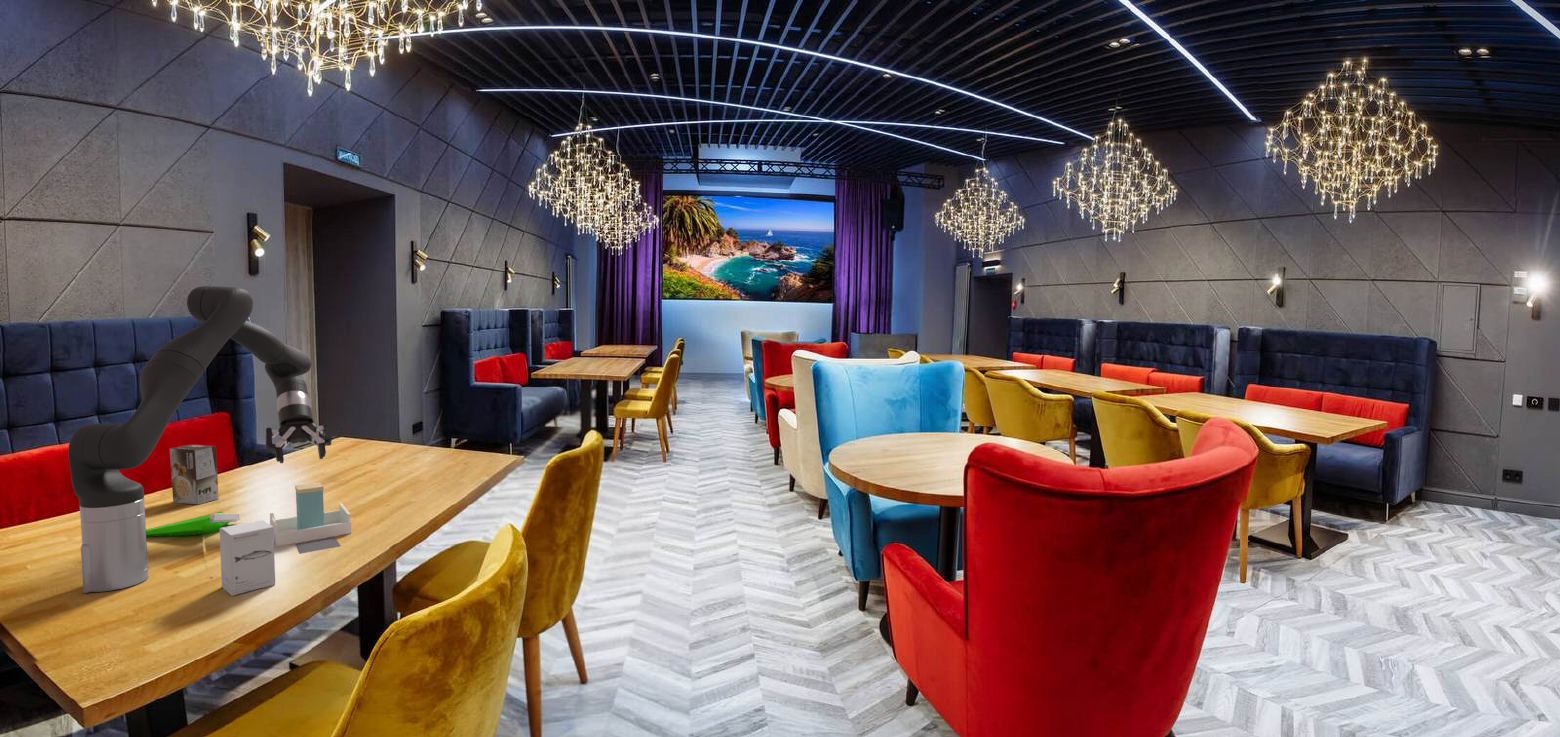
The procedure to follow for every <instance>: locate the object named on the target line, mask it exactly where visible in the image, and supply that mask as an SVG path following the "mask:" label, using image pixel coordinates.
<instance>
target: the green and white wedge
mask: <svg viewBox="0 0 1560 737" xmlns="http://www.w3.org/2000/svg"><path fill="white" fill-rule="evenodd" d="M239 520H240V514H239V513H233V512H232V513H226V512H224V511H218V512H214V513H210V514H209V513H208V514H205V515H201V516H197V517H192V518H188V519H184V520H180V521H177V522H176V521H175V522H172V523H166V524H163V525H159V526H154V527H150V528H146V537H168V536H169V535H173V536H191V535H192V534H200V535H205V534H209V533H210V534H211V533H214V532H218V531H220V530H219V529H220V528H223V527H227V525H229V524H230V523H232V522H233V523H234V522H238V521H239ZM166 535H167V536H166ZM192 536H193V535H192Z"/></svg>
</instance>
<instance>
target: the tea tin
mask: <svg viewBox="0 0 1560 737" xmlns="http://www.w3.org/2000/svg"><path fill="white" fill-rule="evenodd" d="M294 486H295V487H294V489H295V498H296V499H295V500H296V502H295V503H296V504H295V505H296V517H297V530H301V529H307V528H313V527H319V526H324V512H325V510H324V509H325V508H324V490H325V489H324V485H323V484H322V483H321V482H313V483H307V484H303V483H302V484H298V485H297V484H295V485H294Z"/></svg>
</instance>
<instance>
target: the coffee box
mask: <svg viewBox="0 0 1560 737" xmlns="http://www.w3.org/2000/svg"><path fill="white" fill-rule="evenodd" d="M169 456H170V457H169V458H170V474H171V488H172V489H171V490H172V491H171V492H172V503H176V504H189V505H201V504H205V503H208V502H209V503H210V502H213V501H217V500H219V499H220V498H219V482H218V480H219V479H218V476H219V475H218V466H217V465H218V461H217V460H218V459H217V446H216V445H205V444H186V445H181V446H177V447H171V448H169Z"/></svg>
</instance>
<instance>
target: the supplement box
mask: <svg viewBox="0 0 1560 737" xmlns="http://www.w3.org/2000/svg"><path fill="white" fill-rule="evenodd" d="M218 531H219V549H220V552H219V553H220V554H219V555H220V572H221V574H220V575H221V577H220V578H221V587H222V588H223V589H224V590H225V591H226V592H227V593H228V594H229V595H230V596H231V597H233V596H236V595H239V594H240V595H241V594H244V593H248V592H251V591H255V590H259V589H263V588H268V587H272V586H275V585H276V568H275V567H276V564H275V542H274V527H273V526H271V525H270V523H269V522H266V521H265V520H263V519H261V520H257V521H256V520H255V521H251V522H245V523H240V524H239V523H238V524H235V525H229V526H224V527H222V528H220V529H219V530H218Z"/></svg>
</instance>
